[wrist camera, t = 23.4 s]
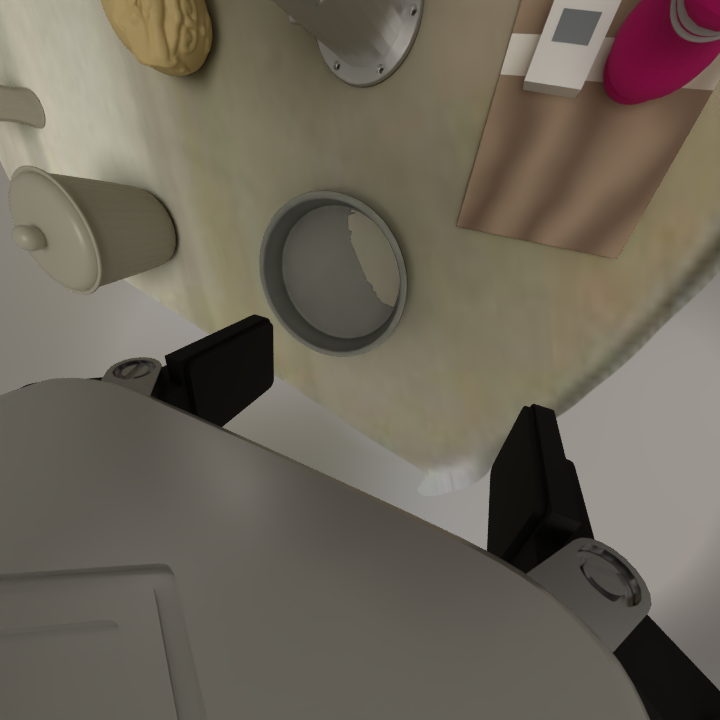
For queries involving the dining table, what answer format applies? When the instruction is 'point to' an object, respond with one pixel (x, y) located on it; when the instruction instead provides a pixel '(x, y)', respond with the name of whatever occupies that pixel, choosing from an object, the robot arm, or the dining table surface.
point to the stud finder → (569, 46)
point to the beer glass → (20, 107)
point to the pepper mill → (661, 48)
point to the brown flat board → (574, 150)
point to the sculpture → (163, 32)
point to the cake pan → (325, 276)
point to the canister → (88, 228)
